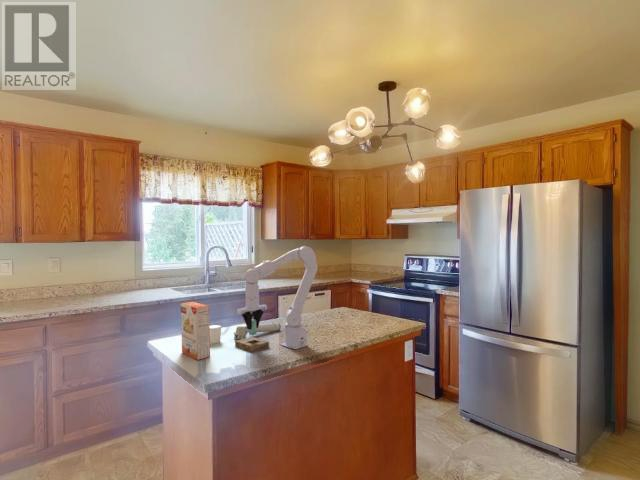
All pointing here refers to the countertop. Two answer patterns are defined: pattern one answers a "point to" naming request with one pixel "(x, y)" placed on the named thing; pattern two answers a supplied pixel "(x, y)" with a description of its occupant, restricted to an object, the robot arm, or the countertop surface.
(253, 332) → the peg
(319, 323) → the countertop surface
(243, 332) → the cream knobbed rod
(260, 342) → the socket board
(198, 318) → the cracker box
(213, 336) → the white cup
